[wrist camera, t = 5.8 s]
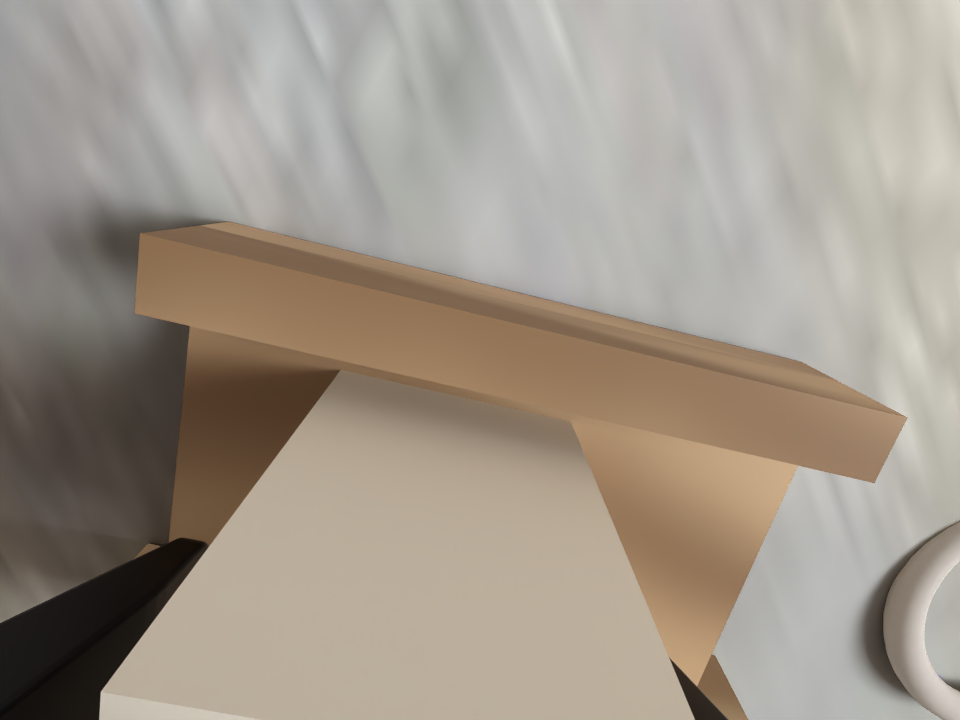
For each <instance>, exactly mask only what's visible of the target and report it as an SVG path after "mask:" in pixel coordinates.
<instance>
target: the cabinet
mask: <svg viewBox="0 0 960 720" xmlns="http://www.w3.org/2000/svg"><path fill="white" fill-rule="evenodd" d="M99 720H695V719H694V716H693V714H692V712H691V709H690V707H689V704H688V702H687V700H686V697H685V695H684V692H683V690H682V687H681V685H680V683H679V680H678V678H677V675H676V673H675V671H674V668H673V666H672V663H671V661H670V659H669V656H668V654H667V651H666V649H665V647H664V644H663V642H662V639H661V637H660V635H659V632H658V630H657V627H656V625H655V623H654V620H653V618H652V615H651V613H650V611H649V608H648V606H647V603H646V601H645V598H644V596H643V594H642V591H641V589H640V586H639V584H638V582H637V579H636V577H635V574H634V572H633V570H632V567H631V565H630V562H629V560H628V558H627V555H626V553H625V550H624V548H623V546H622V543H621V541H620V538H619V536H618V534H617V531H616V529H615V526H614V524H613V522H612V519H611V517H610V514H609V512H608V510H607V507H606V505H605V502H604V500H603V497H602V495H601V493H600V490H599V488H598V485H597V483H596V481H595V478H594V476H593V473H592V471H591V469H590V466H589V464H588V461H587V459H586V457H585V454H584V452H583V449H582V447H581V445H580V442H579V440H578V437H577V435H576V433H575V430H574V428H573V425H572V423H571V422H570V421H565V420H561V419H557V418H552V417H548V416H543V415H539V414H534V413H530V412H526V411H521V410H517V409H512V408H508V407H503V406H499V405H495V404H490V403H486V402H481V401H477V400H472V399H468V398H464V397H459V396H455V395H450V394H446V393H441V392H437V391H433V390H428V389H424V388H419V387H415V386H411V385H406V384H402V383H397V382H393V381H388V380H384V379H380V378H375V377H371V376H366V375H362V374H357V373H353V372H349V371H344V370H340V372H339V373H338V375H337V376H336V377H335V379H334V380H333V381H332V383H331V384H330V385H329V387H328V388H327V389H326V391H325V392H324V393H323V395H322V396H321V397H320V399H319V400H318V401H317V403H316V404H315V405H314V407H313V408H312V409H311V411H310V412H309V413H308V415H307V416H306V417H305V419H304V420H303V421H302V423H301V424H300V425H299V427H298V428H297V429H296V431H295V432H294V434H293V435H292V436H291V438H290V439H289V440H288V442H287V443H286V444H285V446H284V447H283V448H282V450H281V451H280V452H279V454H278V455H277V456H276V458H275V459H274V460H273V462H272V463H271V464H270V466H269V467H268V468H267V470H266V471H265V472H264V474H263V475H262V476H261V478H260V479H259V480H258V482H257V483H256V484H255V486H254V487H253V488H252V490H251V491H250V493H249V494H248V495H247V497H246V498H245V499H244V501H243V502H242V503H241V505H240V506H239V507H238V509H237V510H236V511H235V513H234V514H233V515H232V517H231V518H230V519H229V521H228V522H227V523H226V525H225V526H224V527H223V529H222V530H221V531H220V533H219V534H218V535H217V537H216V538H215V539H214V541H213V542H212V543H211V545H210V546H209V547H208V549H207V550H206V551H205V553H204V554H203V556H202V557H201V558H200V560H199V561H198V562H197V564H196V565H195V566H194V568H193V569H192V570H191V572H190V573H189V574H188V576H187V577H186V578H185V580H184V581H183V582H182V584H181V585H180V586H179V588H178V589H177V590H176V592H175V593H174V594H173V596H172V597H171V598H170V600H169V601H168V602H167V604H166V605H165V606H164V608H163V609H162V610H161V612H160V613H159V615H158V616H157V617H156V619H155V620H154V621H153V623H152V624H151V625H150V627H149V628H148V629H147V631H146V632H145V633H144V635H143V636H142V637H141V639H140V640H139V641H138V643H137V644H136V645H135V647H134V648H133V649H132V651H131V652H130V653H129V655H128V656H127V657H126V659H125V660H124V661H123V663H122V664H121V665H120V667H119V668H118V669H117V671H116V672H115V674H114V675H113V676H112V678H111V679H110V680H109V682H108V683H107V684H106V686H105V687H104V688H103V690H102V691H101V697H100V714H99Z"/></svg>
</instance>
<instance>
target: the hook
mask: <svg viewBox="0 0 960 720" xmlns="http://www.w3.org/2000/svg"><path fill="white" fill-rule="evenodd" d="M959 561H960V522H958V523H956V524H955V525H953V526H951V527H949V528H947V529H945V530H944V531H942V532H941V533H940V534H938V535H937V536H935V537H934V538H933V539H931V540H930V541H928V542H927V543H926V544H925V545H923V546H922V547H921V548H920V549H919V550H918V551H917V552H916V553H915V554H914V555H913V556H912V557H911V558H910V559H909V560H908V562H907V563H906V564H905V566H904V567H903V568H902V570H901V571H900V572H899V574H898V575H897V576H896V578H895V580H894V582H893V584H892V586H891V588H890V590H889V593H888V595H887V599H886V604H885V608H884V613H883V634H884V640H885V645H886V650H887V655H888V657H889V660H890V662H891V665H892V667H893V669H894V672H895V673H896V675H897V676H898V678H899V679H900V681H901V682H902V684H903V685H904V687H905V688H906V690H907V691H908V692H909V693H910V694H911V695H912V696H913V697H914V698H915V699H916V700H917V701H918V702H919V703H920V704H921V705H922V706H923V707H924V708H926V709H927V710H929V711H931V712H932V713H934V714H935V715H937V716H938V717H940V718H941V719H943V720H960V691H958V690H955V689H953V688H952V687H950V686H949V685H947V684H946V683H945V682H944V681H943V680H942V679H941V678H940V677H939V676H938V675H937V674H936V672H935V671H934V669H933V668H932V666H931V664H930V661H929V659H928V656H927V654H926V649H925V644H924V626H925V621H926V616H927V611H928V608H929V606H930V603H931V601H932V598H933V596H934V593H935V592H936V590H937V589H938V587H939V585H940V584H941V582H942V580H943V579H944V578H945V576H946V575H947V574H948V573H949V572H950V571H951V569H952V568H953V567H954V566H955V565H956V564H957V563H958V562H959Z"/></svg>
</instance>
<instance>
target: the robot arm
mask: <svg viewBox="0 0 960 720" xmlns="http://www.w3.org/2000/svg"><path fill="white" fill-rule="evenodd" d="M207 549H208V545H207V543H206V542H204V541H199V540H195V539H190V538H183V537H181V538H177V539H175V540H173V541H171V542H168V543H166V544H164V545H162V546H160V547H158V548H156V549H154V550H152V551H150V552H148V553H145V554H143V555H141V556H139V557H137V558H135V559H133V560H131V561H129V562H127V563H125V564H123V565H120V566H118V567H116V568H114V569H112V570H110V571H108V572H106V573H104V574H102V575H100V576H98V577H95V578H93V579H91V580H89V581H87V582H85V583H83V584H81V585H79V586H77V587H75V588H72V589H70V590H68V591H66V592H64V593H62V594H60V595H58V596H56V597H54V598H52V599H50V600H47V601H45V602H43V603H41V604H39V605H37V606H35V607H33V608H31V609H29V610H27V611H24V612H22V613H20V614H18V615H16V616H14V617H12V618H10V619H8V620H6V621H4V622H2V623H0V720H99V714H100V697H101V691H102V690H103V688H104V687H105V686H106V684H107V683H108V682H109V680H110V679H111V678H112V676H113V675H114V674H115V672H116V671H117V669H118V668H119V667H120V665H121V664H122V663H123V661H124V660H125V659H126V657H127V656H128V655H129V653H130V652H131V651H132V649H133V648H134V647H135V645H136V644H137V643H138V641H139V640H140V639H141V637H142V636H143V635H144V633H145V632H146V631H147V629H148V628H149V627H150V625H151V624H152V623H153V621H154V620H155V619H156V617H157V616H158V615H159V613H160V612H161V610H162V609H163V608H164V606H165V605H166V604H167V602H168V601H169V600H170V598H171V597H172V596H173V594H174V593H175V592H176V590H177V589H178V588H179V586H180V585H181V584H182V582H183V581H184V580H185V578H186V577H187V576H188V574H189V573H190V572H191V570H192V569H193V568H194V566H195V565H196V564H197V562H198V561H199V560H200V558H201V557H202V556H203V554H204V553H205V551H206V550H207ZM669 659H670V657H669ZM670 661H671V663H672V666H673V668H674V671H675V673H676V675H677V678H678V680H679V683H680V685H681V687H682V690H683V692H684V695H685V697H686V700H687V702H688V704H689V707H690V709H691V712H692V714H693V716H694V719H695V720H728V719H727V717H726V716H725V715H724V714H723V713H722V712H721V711H720V710H719V709H718V708H717V707H716V706H715V705H714V704H713V703H712V702H711V701H710V700H709V699H708V697H707V696H706V695H705V694H704V693H703V692H702V691H701V690H700V689H699V688H698V687H697V686H696V685H695V684H694V683H693V682H692V681H691V680H690V679H689V677H688V676H687V675H686V674H685V673H684V672H683V671H682V670H681V669H680V668H679V667H678V666H677V665H676V664H675V663H674V662H673V661H672V660H671V659H670Z"/></svg>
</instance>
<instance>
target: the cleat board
mask: <svg viewBox="0 0 960 720" xmlns="http://www.w3.org/2000/svg"><path fill="white" fill-rule="evenodd" d="M134 313H135V314H139V315H144V316H148V317H152V318H157V319H161V320H165V321H170V322H174V323H179V324H183V325H187V326H190V330H189V340H188V350H187V360H186V370H185V380H184V391H183V401H182V411H181V421H180V431H179V441H178V451H177V462H176V472H175V482H174V492H173V502H172V512H171V523H170V533H169V542H171V541H173V540H175V539H177V538H181V537H183V538H190V539H195V540H199V541H204V542H206V543H207V545H208V547H209V546H210V545H211V543H212V542H213V541H214V539H215V538H216V537H217V535H218V534H219V533H220V531H221V530H222V529H223V527H224V526H225V525H226V523H227V522H228V521H229V519H230V518H231V517H232V515H233V514H234V513H235V511H236V510H237V509H238V507H239V506H240V505H241V503H242V502H243V501H244V499H245V498H246V497H247V495H248V494H249V493H250V491H251V490H252V488H253V487H254V486H255V484H256V483H257V482H258V480H259V479H260V478H261V476H262V475H263V474H264V472H265V471H266V470H267V468H268V467H269V466H270V464H271V463H272V462H273V460H274V459H275V458H276V456H277V455H278V454H279V452H280V451H281V450H282V448H283V447H284V446H285V444H286V443H287V442H288V440H289V439H290V438H291V436H292V435H293V434H294V432H295V431H296V429H297V428H298V427H299V425H300V424H301V423H302V421H303V420H304V419H305V417H306V416H307V415H308V413H309V412H310V411H311V409H312V408H313V407H314V405H315V404H316V403H317V401H318V400H319V399H320V397H321V396H322V395H323V393H324V392H325V391H326V389H327V388H328V387H329V385H330V384H331V383H332V381H333V380H334V379H335V377H336V376H337V375H338V373H339V372H340V370H344V371H349V372H353V373H357V374H362V375H366V376H371V377H375V378H380V379H384V380H388V381H393V382H397V383H402V384H406V385H411V386H415V387H419V388H424V389H428V390H433V391H437V392H441V393H446V394H450V395H455V396H459V397H464V398H468V399H472V400H477V401H481V402H486V403H490V404H495V405H499V406H503V407H508V408H512V409H517V410H521V411H526V412H530V413H534V414H539V415H543V416H548V417H552V418H557V419H561V420H565V421H570V422H571V423H572V425H573V428H574V430H575V433H576V435H577V437H578V440H579V442H580V445H581V447H582V449H583V452H584V454H585V457H586V459H587V461H588V464H589V466H590V469H591V471H592V473H593V476H594V478H595V481H596V483H597V485H598V488H599V490H600V493H601V495H602V497H603V500H604V502H605V505H606V507H607V510H608V512H609V514H610V517H611V519H612V522H613V524H614V526H615V529H616V531H617V534H618V536H619V538H620V541H621V543H622V546H623V548H624V550H625V553H626V555H627V558H628V560H629V562H630V565H631V567H632V570H633V572H634V574H635V577H636V579H637V582H638V584H639V586H640V589H641V591H642V594H643V596H644V598H645V601H646V603H647V606H648V608H649V611H650V613H651V615H652V618H653V620H654V623H655V625H656V627H657V630H658V632H659V635H660V637H661V639H662V642H663V644H664V647H665V649H666V651H667V654H668V656H669V657H670V659H671V660H672V661H673V662H674V663H675V664H676V665H677V666H678V667H679V668H680V669H681V670H682V671H683V672H684V673H685V674H686V675H687V676H688V677H689V679H690V680H691V681H692V682H693V683H694V684H695V685H696V686H697V687H698V688H699V689H700V690H701V691H702V692H703V693H704V694H705V695H706V696H707V697H708V699H709V700H710V701H711V702H712V703H713V704H714V705H715V706H716V707H717V708H718V709H719V710H720V711H721V712H722V713H723V714H724V715H725V716H726V717H727V719H728V720H748V719H747V717H746V715H745V713H744V711H743V709H742V707H741V705H740V703H739V701H738V699H737V697H736V695H735V693H734V691H733V689H732V688H731V686H730V684H729V682H728V680H727V678H726V676H725V674H724V672H723V670H722V668H721V666H720V664H719V662H718V660H717V658H716V657H715V655H712V652H713V650H714V648H715V646H716V644H717V642H718V639H719V637H720V635H721V633H722V631H723V628H724V626H725V624H726V622H727V620H728V618H729V615H730V613H731V611H732V609H733V607H734V604H735V602H736V600H737V598H738V596H739V594H740V591H741V589H742V587H743V585H744V583H745V580H746V578H747V576H748V574H749V572H750V569H751V567H752V565H753V563H754V561H755V559H756V556H757V554H758V552H759V550H760V548H761V545H762V543H763V541H764V539H765V537H766V535H767V532H768V530H769V528H770V526H771V524H772V521H773V519H774V517H775V515H776V513H777V511H778V508H779V506H780V504H781V502H782V500H783V497H784V495H785V493H786V491H787V489H788V486H789V484H790V482H791V480H792V478H793V476H794V473H795V471H796V469H797V467H798V466H803V467H807V468H811V469H816V470H820V471H824V472H829V473H833V474H837V475H842V476H846V477H851V478H855V479H859V480H864V481H868V482H872V483H874V482H875V480H876V479H877V477H878V475H879V473H880V471H881V469H882V467H883V465H884V463H885V461H886V459H887V457H888V455H889V453H890V451H891V449H892V447H893V445H894V443H895V441H896V439H897V437H898V435H899V433H900V431H901V429H902V427H903V425H904V423H905V421H906V419H907V417H905V416H903V415H901V414H900V413H898V412H896V411H894V410H892V409H890V408H888V407H886V406H884V405H882V404H880V403H879V402H877V401H875V400H873V399H871V398H869V397H867V396H865V395H863V394H861V393H860V392H858V391H856V390H854V389H852V388H850V387H848V386H846V385H844V384H842V383H841V382H839V381H837V380H835V379H833V378H831V377H829V376H827V375H825V374H823V373H821V372H820V371H818V370H816V369H814V368H812V367H810V366H808V365H806V364H804V363H802V362H799V361H795V360H791V359H787V358H783V357H779V356H775V355H771V354H767V353H763V352H759V351H755V350H750V349H746V348H742V347H738V346H734V345H730V344H726V343H722V342H718V341H714V340H710V339H706V338H701V337H697V336H693V335H689V334H685V333H681V332H677V331H673V330H669V329H665V328H661V327H657V326H653V325H648V324H644V323H640V322H636V321H632V320H628V319H624V318H620V317H616V316H612V315H608V314H604V313H599V312H595V311H591V310H587V309H583V308H579V307H575V306H571V305H567V304H563V303H559V302H555V301H550V300H546V299H542V298H538V297H534V296H530V295H526V294H522V293H518V292H514V291H510V290H506V289H502V288H497V287H493V286H489V285H485V284H481V283H477V282H473V281H469V280H465V279H461V278H457V277H453V276H448V275H444V274H440V273H436V272H432V271H428V270H424V269H420V268H416V267H412V266H408V265H404V264H399V263H395V262H391V261H387V260H383V259H379V258H375V257H371V256H367V255H363V254H359V253H355V252H351V251H346V250H342V249H338V248H334V247H330V246H326V245H322V244H318V243H314V242H310V241H306V240H302V239H297V238H293V237H289V236H285V235H281V234H277V233H273V232H269V231H265V230H261V229H257V228H253V227H248V226H244V225H240V224H236V223H232V222H223V223H215V224H207V225H199V226H192V227H184V228H176V229H168V230H160V231H152V232H145V233H140V239H139V254H138V269H137V283H136V298H135V312H134ZM158 547H160V546H159V545H154V544H149V543H148V544H147V545H146V546H145V547H144V548H143V549H142V550H141V551H140V553H139V554H138V555H137V556H136V557H135V558H137V557H139V556H141V555H143V554H145V553H148V552H150V551H152V550H154V549H156V548H158ZM135 558H134V559H135Z"/></svg>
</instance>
